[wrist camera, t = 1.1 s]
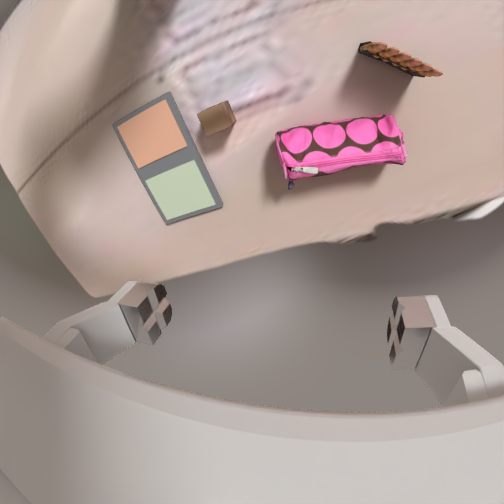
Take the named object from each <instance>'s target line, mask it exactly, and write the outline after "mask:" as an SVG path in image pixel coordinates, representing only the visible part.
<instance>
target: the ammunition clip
mask: <svg viewBox="0 0 504 504" xmlns="http://www.w3.org/2000/svg"><path fill="white" fill-rule="evenodd" d="M358 52H359V53H361V54H364V55H367V56H369V57H372V58H374V59H377V60H379V61H382V62H384V63H386V64H389V65H391V66H393V67H395V68H398V69H400V70H402V71H404V72H406V73H408V74H410V75H412V76H418V77H425V76H429V77H431V76H441V75H442V74H443V73H442V72H441V71H439V70H437V69H434V68H433V67H432V66H431V65H429V64H426V63H422V61H421V60H420V59H417V58H411V55H410V54H408V53H401V52H400V51H399V49H397V48H393V47H392V48H391V47H387V44H386V43H383V42H373V43H372V42H370V41H369V42H365V43H360V47H359V51H358Z"/></svg>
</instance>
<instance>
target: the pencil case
mask: <svg viewBox="0 0 504 504" xmlns="http://www.w3.org/2000/svg"><path fill="white" fill-rule="evenodd" d="M275 137H276V147H277V153H278V157H279V161H280V164H281V166H282V168H283V169H284V176H285V179H287V177H288V179H289V184H288V185H289V188H288V189H289V190H290V189H291V188H292V187H294V186H295V185H294V183H293V182H292V181H293V180H296V179H299V178H301V177H317V176H323V175H329V174H333V173H336V172H338V171H342V170H346V169H350V168H354V167H357V166H362V165H370V164H400V165H403V164H404V163H405V162H406V157H407V150H406V148H405V142H404V141H403V133H402V132H401V130H400V129H399V128H398V126H397V123H396V121H395V118H394V116H393V115H378V116H372V117H361V118H355V119H345V120H341V121H334V122H323V123H320V124H312V125H304V126H299V127H294V128H290V129H286V130H283V131H279V132H277V133H276V134H275Z"/></svg>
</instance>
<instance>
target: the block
mask: <svg viewBox="0 0 504 504" xmlns="http://www.w3.org/2000/svg"><path fill="white" fill-rule="evenodd" d="M197 116H198V118H199V120H200V123H201V125H202V127H203V129H204V131H205V134H206V136H208V135H210V134H213V133H216V132H218V131H221V130H223V129H226V128H229V127H230V126H231V125H232V124H233V123H234V122H235V121H236V118H235V116H234V114H233V111H232V109H231V107H230V104H229V102H228V100H227V101H225V102H222V103H220V104H217V105H215V106H212V107H210V108H207V109H206V110H204V111H202V112H200V113H198V114H197Z"/></svg>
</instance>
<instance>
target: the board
mask: <svg viewBox="0 0 504 504" xmlns="http://www.w3.org/2000/svg"><path fill="white" fill-rule="evenodd" d="M113 127H114V129H115V131H116V133H117V135H118V137H119V139H120V141H121V143H122V145H123V147H124V149H125V151H126V153H127V155H128V156H129V158H130V160H131V162H132V164H133V166H134V168H135V170H136V172H137V173H138V175H139V177H140V179H141V181H142V183H143V184H144V186H145V188H146V190H147V192H148V193H149V195H150V197H151V199H152V201H153V202H154V204H155V206H156V208H157V209H158V211H159V213H160V215H161V216H162V218H163V220H164V221H165V223H166V224H169V223H172V222H175V221H178V220H181V219H184V218H188V217H191V216H194V215H197V214H200V213H203V212H207V211H210V210H213V209H217V208H220V207H222V206H223V202H222V200H221V198H220V196H219V194H218V192H217V190H216V188H215V185H214V183H213V181H212V179H211V177H210V175H209V173H208V171H207V169H206V166H205V164H204V162H203V160H202V158H201V156H200V154H199V152H198V150H197V147H196V145H195V143H194V141H193V139H192V137H191V135H190V133H189V130H188V128H187V126H186V124H185V122H184V120H183V118H182V115H181V113H180V111H179V109H178V107H177V105H176V103H175V101H174V98H173V96H172V94H171V92H168V93H166V94H164V95H162V96H160V97H158V98H156V99H155V100H153V101H151V102H149V103H147V104H146V105H144V106H142V107H140V108H139V109H137V110H135V111H134V112H132V113H130V114H129V115H127V116H126V117H124V118H122V119H121V120H119V121H118V122H116V123H115V124H113Z"/></svg>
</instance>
